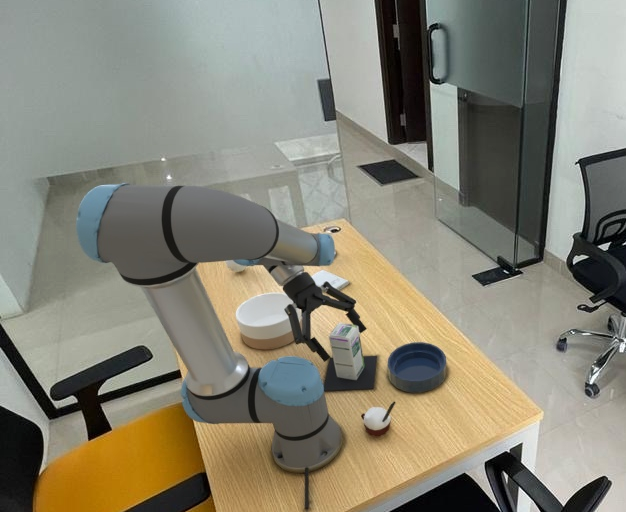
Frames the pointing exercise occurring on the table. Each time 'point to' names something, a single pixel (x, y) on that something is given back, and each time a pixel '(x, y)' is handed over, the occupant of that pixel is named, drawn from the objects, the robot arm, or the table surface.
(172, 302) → the robot arm
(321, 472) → the table surface
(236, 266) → the white egg shape
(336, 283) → the hard drive
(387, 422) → the cocoa
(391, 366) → the serving bowl
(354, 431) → the table surface
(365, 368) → the mat
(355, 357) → the syrup box
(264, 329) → the bowl
